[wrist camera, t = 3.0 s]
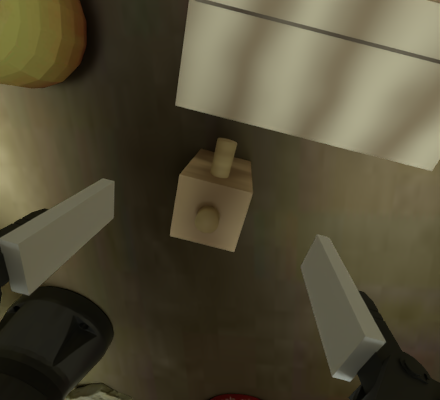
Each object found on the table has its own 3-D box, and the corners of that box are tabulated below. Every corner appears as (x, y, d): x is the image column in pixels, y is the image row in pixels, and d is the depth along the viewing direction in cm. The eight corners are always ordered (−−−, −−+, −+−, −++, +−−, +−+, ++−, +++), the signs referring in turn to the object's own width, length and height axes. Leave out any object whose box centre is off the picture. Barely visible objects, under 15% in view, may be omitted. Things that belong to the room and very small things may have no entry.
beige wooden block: (192, 194, 24) (165, 243, 16) (206, 122, 21) (181, 139, 13) (237, 205, 24) (233, 260, 16) (258, 135, 21) (266, 161, 13)
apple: (61, -84, 16) (-86, -225, 9) (126, 64, 20) (58, 47, 13) (-33, -18, 19) (-212, -89, 11) (41, 105, 22) (-59, 110, 15)
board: (181, 104, 21) (172, 105, 18) (205, -62, 16) (197, -91, 13) (415, 164, 21) (439, 173, 18) (508, 17, 16) (557, 2, 14)
